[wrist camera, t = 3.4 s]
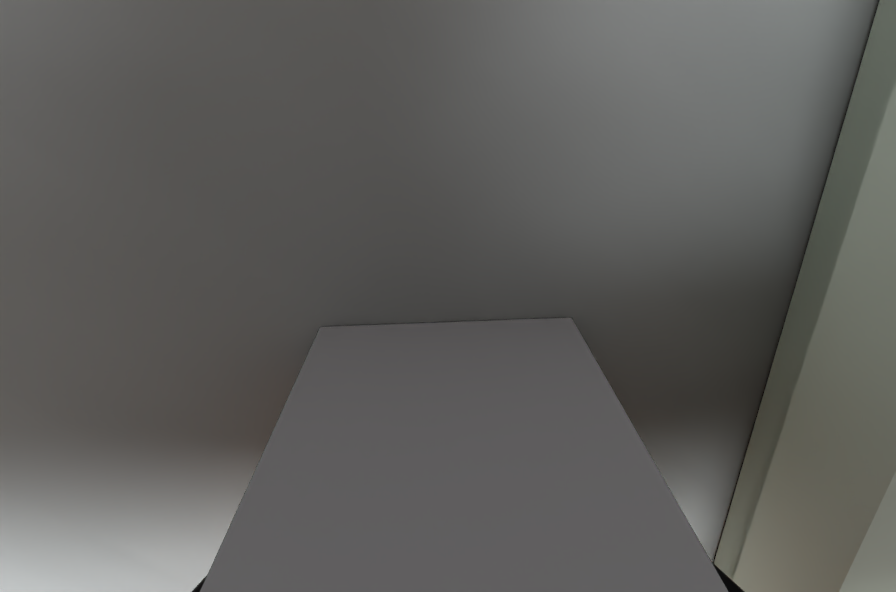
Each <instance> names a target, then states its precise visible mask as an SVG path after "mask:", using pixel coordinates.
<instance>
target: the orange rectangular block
mask: <svg viewBox="0 0 896 592" xmlns="http://www.w3.org/2000/svg"><path fill="white" fill-rule="evenodd" d="M200 592H728V590H727V588H726V587H725V585H724V583H723V581H722V580H721V578H720V576H719V574H718V573H717V571H716V569H715V567H714V566H713V564H712V562H711V560H710V559H709V557H708V555H707V553H706V552H705V550H704V548H703V546H702V545H701V543H700V541H699V540H698V538H697V536H696V534H695V533H694V531H693V529H692V527H691V526H690V524H689V522H688V520H687V519H686V517H685V515H684V513H683V512H682V510H681V508H680V506H679V505H678V503H677V501H676V499H675V498H674V496H673V494H672V492H671V491H670V489H669V487H668V485H667V484H666V482H665V480H664V478H663V477H662V475H661V473H660V471H659V470H658V468H657V466H656V464H655V463H654V461H653V459H652V457H651V456H650V454H649V452H648V450H647V449H646V447H645V445H644V443H643V442H642V440H641V438H640V436H639V435H638V433H637V431H636V429H635V428H634V426H633V424H632V422H631V421H630V419H629V417H628V416H627V414H626V412H625V410H624V409H623V407H622V405H621V403H620V402H619V400H618V398H617V396H616V395H615V393H614V391H613V389H612V388H611V386H610V384H609V382H608V381H607V379H606V377H605V375H604V374H603V372H602V370H601V368H600V367H599V365H598V363H597V361H596V360H595V358H594V356H593V354H592V353H591V351H590V349H589V347H588V346H587V344H586V342H585V340H584V339H583V337H582V335H581V333H580V332H579V330H578V328H577V326H576V325H575V323H574V321H573V319H572V318H571V317H569V318H543V319H516V320H490V321H464V322H437V323H411V324H384V325H358V326H332V327H320V328H319V331H318V333H317V335H316V337H315V339H314V342H313V344H312V346H311V348H310V350H309V353H308V355H307V357H306V359H305V361H304V364H303V366H302V368H301V370H300V372H299V375H298V377H297V379H296V381H295V383H294V386H293V388H292V390H291V392H290V394H289V397H288V399H287V401H286V403H285V405H284V408H283V410H282V412H281V414H280V416H279V419H278V421H277V423H276V425H275V427H274V430H273V432H272V434H271V436H270V438H269V441H268V443H267V445H266V447H265V449H264V452H263V454H262V456H261V458H260V460H259V463H258V465H257V467H256V469H255V471H254V474H253V476H252V478H251V480H250V482H249V485H248V487H247V489H246V491H245V493H244V496H243V498H242V500H241V502H240V504H239V507H238V509H237V511H236V513H235V515H234V518H233V520H232V522H231V524H230V526H229V529H228V531H227V533H226V535H225V537H224V540H223V542H222V544H221V546H220V548H219V551H218V553H217V555H216V557H215V559H214V562H213V564H212V566H211V568H210V570H209V573H208V575H207V577H206V579H205V581H204V584H203V586H202V588H201V590H200Z"/></svg>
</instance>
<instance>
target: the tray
mask: <svg viewBox="0 0 896 592" xmlns="http://www.w3.org/2000/svg"><path fill="white" fill-rule="evenodd" d="M714 564H715V565H716V566H717V567H718V568H719V569H720V570H721V571H722V572H724V573H725V574H726V575H727V576H728V577H729V578H730V579H731V580H732V581H734V582H735V583H736V584H737V585H738V586H739V587H740V588H741V589H742V590H743V591H745V592H896V0H880V1H879V5H878V8H877V11H876V15H875V18H874V22H873V25H872V28H871V32H870V35H869V38H868V42H867V45H866V49H865V52H864V55H863V59H862V62H861V66H860V69H859V72H858V76H857V79H856V83H855V86H854V89H853V93H852V96H851V99H850V103H849V106H848V110H847V113H846V116H845V120H844V123H843V127H842V130H841V133H840V137H839V140H838V144H837V147H836V150H835V154H834V157H833V161H832V164H831V167H830V171H829V174H828V177H827V181H826V184H825V188H824V191H823V194H822V198H821V201H820V205H819V208H818V211H817V215H816V218H815V222H814V225H813V228H812V232H811V235H810V239H809V242H808V245H807V249H806V252H805V255H804V259H803V262H802V266H801V269H800V272H799V276H798V279H797V283H796V286H795V289H794V293H793V296H792V300H791V303H790V306H789V310H788V313H787V317H786V320H785V323H784V327H783V330H782V333H781V337H780V340H779V344H778V347H777V350H776V354H775V357H774V361H773V364H772V367H771V371H770V374H769V378H768V381H767V384H766V388H765V391H764V395H763V398H762V401H761V405H760V408H759V411H758V415H757V418H756V422H755V425H754V428H753V432H752V435H751V439H750V442H749V445H748V449H747V452H746V456H745V459H744V462H743V466H742V469H741V472H740V476H739V479H738V483H737V486H736V489H735V493H734V496H733V500H732V503H731V506H730V510H729V513H728V517H727V520H726V523H725V527H724V530H723V534H722V537H721V540H720V544H719V547H718V550H717V554H716V557H715V561H714Z"/></svg>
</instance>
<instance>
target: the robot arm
mask: <svg viewBox="0 0 896 592" xmlns="http://www.w3.org/2000/svg"><path fill="white" fill-rule="evenodd" d="M712 564H713V566H714V567H715V569H716V571H717V573H718V574H719V576H720V578H721V580H722V581H723V583H724V585H725V587H726V588H727V590H728V592H745V591H743V590H742V589H741V588H740V587H739V586H738V585H737V584H736V583H735V582H734V581H732V580H731V579H730V578H729V577H728V576H727V575H726V574H725V573H724V572H722V571H721V570H720V569H719V568H718V567H717V566H716V565H715V564H714V563H713V562H712ZM206 577H207V576H206ZM206 577H205V578H204V579H203V580H202V581H201V582H200V583H199V584H198V585H197V587H196V588H195V589H194V590H193V591H192V592H200V590H201V588H202V586H203V584H204V581H205V579H206Z"/></svg>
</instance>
